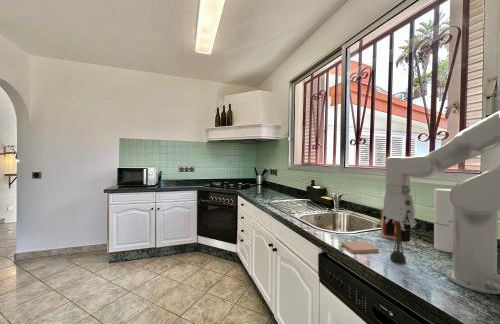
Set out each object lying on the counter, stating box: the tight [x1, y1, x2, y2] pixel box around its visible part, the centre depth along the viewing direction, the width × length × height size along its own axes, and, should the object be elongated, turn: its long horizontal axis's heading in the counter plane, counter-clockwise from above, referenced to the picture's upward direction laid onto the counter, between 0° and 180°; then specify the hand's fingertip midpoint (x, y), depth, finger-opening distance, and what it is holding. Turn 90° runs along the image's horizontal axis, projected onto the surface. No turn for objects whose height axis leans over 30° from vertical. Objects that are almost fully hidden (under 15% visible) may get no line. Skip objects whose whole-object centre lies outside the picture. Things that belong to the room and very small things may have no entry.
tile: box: [341, 240, 379, 254], centre depth 94 cm, size 9×2×11 cm
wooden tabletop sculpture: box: [389, 221, 407, 264], centre depth 82 cm, size 6×5×20 cm
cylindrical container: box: [433, 188, 453, 254], centre depth 93 cm, size 7×7×25 cm
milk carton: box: [380, 206, 402, 240], centre depth 110 cm, size 9×9×20 cm
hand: (397, 237), depth 82 cm, fingers open, 6 cm apart
